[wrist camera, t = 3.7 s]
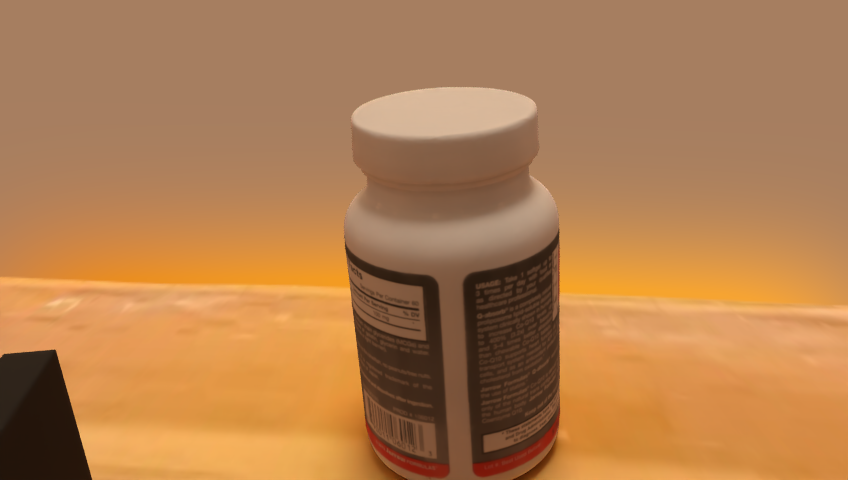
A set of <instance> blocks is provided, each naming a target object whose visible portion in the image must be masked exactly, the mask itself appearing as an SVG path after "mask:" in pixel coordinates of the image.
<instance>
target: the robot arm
mask: <svg viewBox="0 0 848 480" xmlns="http://www.w3.org/2000/svg"><path fill="white" fill-rule="evenodd" d="M0 480H92V477H91V474H90V470H89V467H88V463H87V460H86V456H85V453H84V449H83V445H82V442H81V438H80V435H79V431H78V428H77V424H76V421H75V417H74V413H73V410H72V406H71V403H70V399H69V396H68V392H67V389H66V385H65V381H64V378H63V374H62V371H61V367H60V364H59V360H58V356H57V353H56V350H46V351H34V352H23V353H11V354H3V356H2V357H1V358H0Z"/></svg>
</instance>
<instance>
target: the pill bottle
mask: <svg viewBox="0 0 848 480" xmlns="http://www.w3.org/2000/svg"><path fill="white" fill-rule="evenodd" d="M351 129H352V150H353V159H354V162H355V164H356V165H357V166H358V167H359V168H361V170H362V172H363V173H364V174H365V175H366V176H367V186H365V187H364V188H363V189H362V190H361V191H360V192H359V193H358V194H357V195H356V196H355V198H354V199H353V200H352V202H351V204H350V206H349V208H348V210H347V213H346V217H345V222H344V233H345V235H344V238H345V249H346V256H347V264H348V272H349V280H350V289H351V298H352V307H353V316H354V324H355V332H356V341H357V349H358V358H359V366H360V375H361V383H362V392H363V401H364V409H365V420H366V427H367V431H368V437H369V440H370V442H371V445H372V447H373V449H374V451H375V452H376V454H377V455H378V457H379V458H380V459H381V460H382V461H383V462H384V464H385V465H386V466H388V467H389V468H390V469H391V470H393V471H394V472H395V473H397V474H399V475H400V476H402V477H404V478H406V479H408V480H512V479H515V478H517V477H519V476H521V475H523V474H524V473H526V472H528V471H529V470H531V469H532V468H533V467H535V466H536V465H537V464H538V463H539V462H540V461H541V460H542V459H543V458H544V457H545V456H546V455H547V453H548V452H549V451H550V449H551V448H552V446H553V444H554V442H555V439H556V436H557V433H558V428H559V416H560V396H559V379H560V357H559V255H560V254H559V218H558V210H557V207H556V203H555V201H554V199H553V197H552V196H551V194H550V192H549V191H548V190H547V189H546V187H544V186H543V185H542V184H541V183H540V182H539V181H538V180H536V179H535V178H533V177H532V176H530V175H529V165H530V164H531V162H532V160H533V159H534V158H535V156H536V155H537V153H538V151H539V141H538V116H537V107H536V105H535V103H534V102H533V101H532V100H531V99H530V98H528V97H526V96H523V95H521V94H517V93H514V92H510V91H504V90H498V89H492V88H478V87H444V88H430V89H420V90H413V91H406V92H401V93H396V94H392V95H388V96H384V97H381V98H377V99H374V100H372V101H369V102H367V103H365V104H363V105H361V106H360V107H358V108H357V109H356V110H355V111H354V112H353V114H352V117H351Z"/></svg>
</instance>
